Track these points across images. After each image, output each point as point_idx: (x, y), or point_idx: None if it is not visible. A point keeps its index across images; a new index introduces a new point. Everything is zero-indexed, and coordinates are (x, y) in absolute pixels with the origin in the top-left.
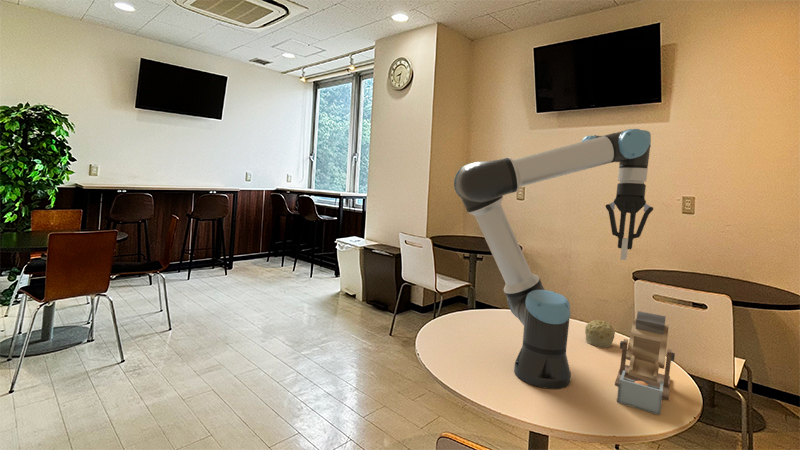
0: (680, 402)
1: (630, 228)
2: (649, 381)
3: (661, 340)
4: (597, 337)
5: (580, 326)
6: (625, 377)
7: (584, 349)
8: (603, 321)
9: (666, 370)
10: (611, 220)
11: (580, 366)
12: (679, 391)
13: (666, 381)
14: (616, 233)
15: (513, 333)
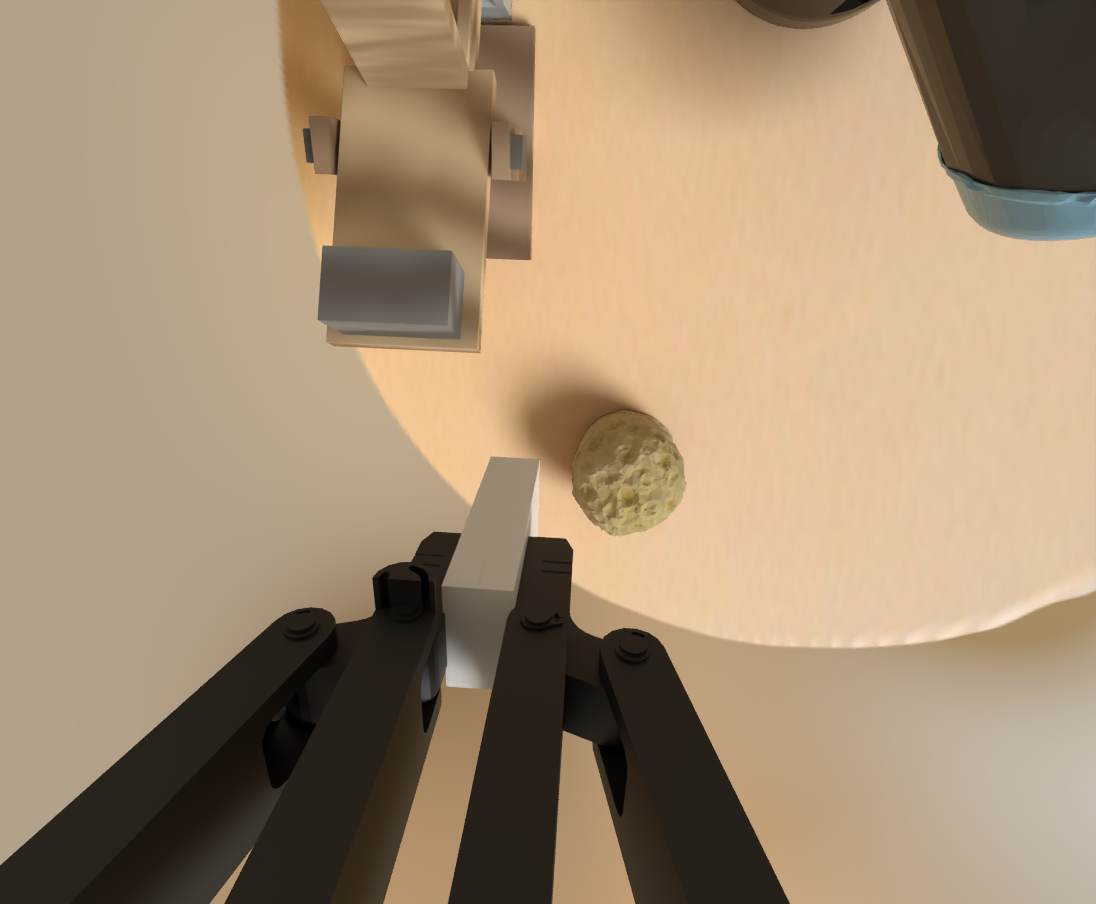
0: (322, 43)
1: (371, 718)
2: None
3: (355, 222)
4: (631, 421)
5: (702, 592)
6: (503, 115)
7: (670, 347)
8: (620, 512)
9: None
10: (747, 883)
11: (672, 139)
12: None
13: None
14: (601, 647)
15: (978, 337)
